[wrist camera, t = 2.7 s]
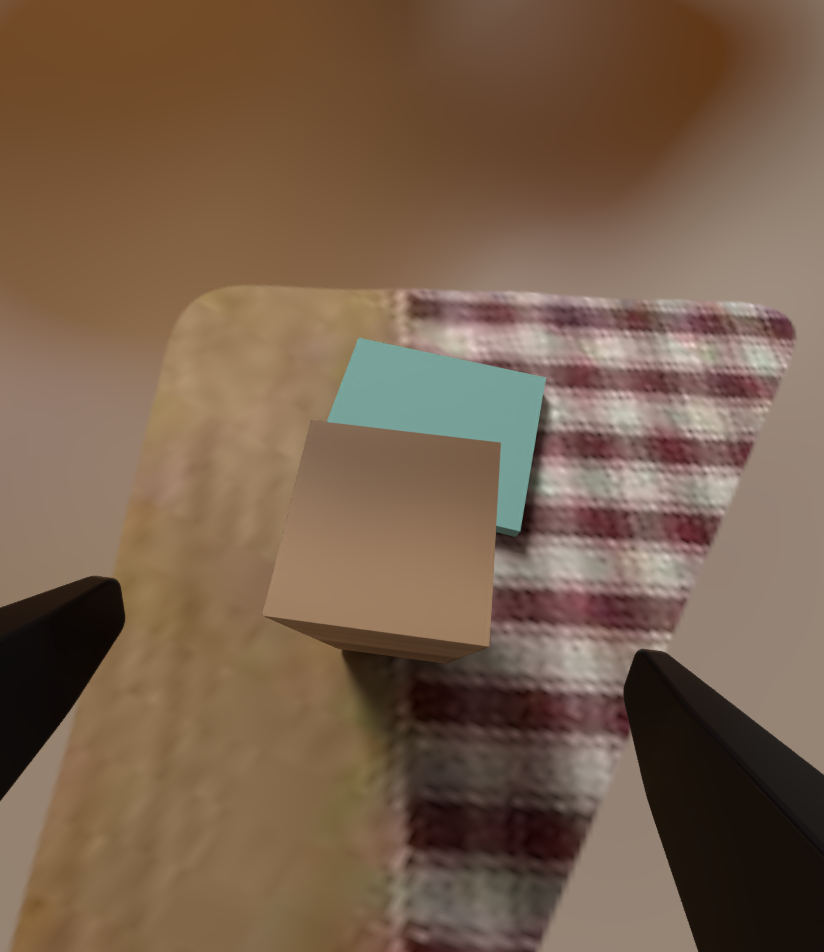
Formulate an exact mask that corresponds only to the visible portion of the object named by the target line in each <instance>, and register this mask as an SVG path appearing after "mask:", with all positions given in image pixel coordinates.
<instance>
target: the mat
mask: <svg viewBox="0 0 824 952" xmlns="http://www.w3.org/2000/svg"><path fill="white" fill-rule="evenodd" d="M545 380H546V378H545V377H541V376H536V375H531V374H527V373H522V372H517V371H513V370H508V369H503V368H498V367H494V366H489V365H484V364H480V363H475V362H470V361H465V360H461V359H456V358H451V357H447V356H442V355H437V354H432V353H428V352H423V351H418V350H414V349H409V348H404V347H400V346H395V345H390V344H385V343H381V342H376V341H371V340H367V339H362V338H358V341H357V344H356V346H355V349H354V352H353V354H352V357H351V359H350V362H349V365H348V367H347V370H346V373H345V375H344V378H343V380H342V383H341V386H340V388H339V391H338V394H337V396H336V399H335V402H334V404H333V407H332V409H331V412H330V415H329V417H328V420H327V422H331V423H340V424H348V425H357V426H365V427H373V428H382V429H390V430H399V431H407V432H416V433H424V434H433V435H441V436H450V437H458V438H467V439H475V440H484V441H492V442H501V451H500V469H499V486H498V503H497V521H496V532H497V533H501V534H505V535H509V536H513V537H516V536H517V535H518V534H519V532H520V530H521V524H522V518H523V512H524V506H525V500H526V494H527V488H528V482H529V476H530V470H531V464H532V458H533V452H534V446H535V440H536V434H537V428H538V422H539V416H540V410H541V404H542V398H543V392H544V386H545Z"/></svg>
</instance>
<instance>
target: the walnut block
mask: <svg viewBox="0 0 824 952" xmlns="http://www.w3.org/2000/svg"><path fill="white" fill-rule="evenodd" d="M500 451H501V442H492V441H484V440H475V439H467V438H458V437H450V436H441V435H433V434H424V433H416V432H407V431H399V430H390V429H382V428H373V427H365V426H357V425H348V424H340V423H331V422H323V421H314V420H311V422H310V426H309V430H308V434H307V438H306V442H305V446H304V450H303V454H302V458H301V462H300V466H299V470H298V474H297V478H296V482H295V486H294V490H293V494H292V498H291V502H290V506H289V510H288V514H287V518H286V522H285V526H284V530H283V534H282V538H281V542H280V546H279V550H278V554H277V558H276V562H275V566H274V570H273V574H272V578H271V582H270V586H269V590H268V595H267V599H266V603H265V607H264V611H263V615H262V616H264V617H267V618H269V619H271V620H273V621H276V622H278V623H280V624H283V625H285V626H287V627H289V628H292V629H294V630H296V631H299V632H301V633H303V634H306V635H308V636H310V637H312V638H315V639H317V640H319V641H322V642H324V643H326V644H329V645H331V646H333V647H335V648H338V649H343V650H350V651H358V652H365V653H372V654H379V655H386V656H394V657H401V658H408V659H415V660H423V661H430V662H437V663H444V664H445V663H448V662H450V661H453V660H456V659H458V658H461V657H463V656H466V655H469V654H471V653H474V652H476V651H479V650H482V649H484V648H487V647H489V643H490V625H491V608H492V591H493V573H494V556H495V538H496V521H497V503H498V486H499V469H500Z"/></svg>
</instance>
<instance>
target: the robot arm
mask: <svg viewBox="0 0 824 952" xmlns="http://www.w3.org/2000/svg"><path fill="white" fill-rule="evenodd" d="M124 623H125V611H124V604H123V598H122V592H121V586H120V583H119V582H118V580H116V579H114V578H109V577H102V576H90V577H86V578H83V579H81V580H78V581H75V582H72V583H69V584H66V585H64V586H61V587H58V588H55V589H52V590H49V591H46V592H43V593H41V594H38V595H35V596H32V597H29V598H26V599H23V600H21V601H18V602H15V603H12V604H9V605H6V606H3V607H1V608H0V801H1V800H2V798H3V797H4V795H6V793H7V792H8V791H9V789H10V788H11V787H12V786H13V784H14V783H15V782H16V780H17V779H18V778H19V776H20V775H21V774H22V773H23V771H24V770H25V769H26V767H27V766H28V765H29V764H30V762H31V761H32V760H33V758H34V757H35V756H36V754H37V753H38V752H39V751H40V749H41V748H42V747H43V746H44V744H45V743H46V742H47V740H48V739H49V738H50V736H51V735H52V734H53V733H54V731H55V730H56V729H57V727H58V726H59V725H60V723H61V722H62V721H63V719H64V718H65V717H66V715H67V714H68V713H69V711H70V710H71V708H72V707H73V705H74V704H75V702H76V701H77V700H78V698H79V697H80V695H81V693H82V692H83V690H84V689H85V687H86V686H87V684H88V683H89V681H90V679H91V678H92V676H93V675H94V673H95V672H96V670H97V669H98V667H99V665H100V664H101V662H102V661H103V659H104V658H105V656H106V654H107V653H108V651H109V650H110V648H111V647H112V645H113V644H114V642H115V640H116V639H117V637H118V636H119V634H120V633H121V631H122V629H123V626H124ZM623 695H624V702H625V707H626V711H627V715H628V720H629V724H630V728H631V733H632V737H633V741H634V746H635V750H636V754H637V759H638V763H639V767H640V772H641V776H642V780H643V784H644V788H645V792H646V796H647V799H648V802H649V805H650V809H651V811H652V815H653V818H654V821H655V824H656V827H657V830H658V833H659V836H660V839H661V842H662V845H663V848H664V851H665V854H666V857H667V860H668V863H669V866H670V868H671V872H672V875H673V878H674V880H675V884H676V887H677V890H678V893H679V896H680V898H681V902H682V904H683V907H684V911H685V913H686V916H687V919H688V922H689V925H690V928H691V931H692V934H693V937H694V940H695V943H696V946H697V949H698V952H824V775H823V774H822V773H821V772H820V771H818V770H817V769H816V768H814V767H813V766H812V765H811V764H809V763H808V762H807V761H805V760H804V759H803V758H801V757H800V756H799V755H798V754H796V753H795V752H794V751H792V750H791V749H790V748H789V747H787V746H786V745H785V744H783V743H782V742H781V741H779V740H778V739H777V738H776V737H774V736H773V735H772V734H770V733H769V732H768V731H767V730H765V729H764V728H763V727H761V726H760V725H759V724H758V723H756V722H755V721H754V720H752V719H751V718H750V717H749V716H747V715H746V714H745V713H743V712H742V711H741V710H740V709H738V708H737V707H736V706H734V705H733V704H732V703H730V702H729V701H728V700H727V699H725V698H724V697H723V696H721V695H720V694H719V693H718V692H716V691H715V690H714V689H712V688H711V687H710V686H708V685H707V684H706V683H704V682H703V681H702V680H701V679H699V678H698V677H697V676H696V675H694V674H693V673H692V672H690V671H689V670H688V669H687V668H685V667H684V666H682V665H681V664H680V663H679V662H678V661H676V660H675V659H674V658H672V657H671V656H670V655H668V654H667V653H665V652H662V651H656V650H648V649H640V650H638V651H637V652H636V654H635V656H634V659H633V661H632V664H631V667H630V670H629V673H628V676H627V679H626V682H625V685H624V693H623Z"/></svg>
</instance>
